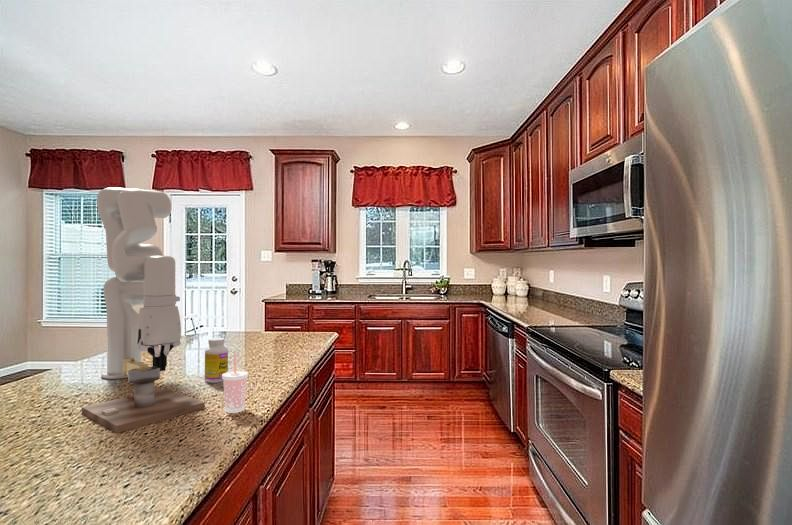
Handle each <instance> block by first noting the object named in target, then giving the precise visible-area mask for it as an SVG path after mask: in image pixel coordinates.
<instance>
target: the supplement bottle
mask: <svg viewBox="0 0 792 525" xmlns="http://www.w3.org/2000/svg"><path fill="white" fill-rule="evenodd" d="M207 342H208V346H207V348H205V350H204V381H205V383H210V384H217V383H224V382H223V379H222V374H223V373H226V372H229V361H228V360H229V359H228V358H229V349H228V347H227V346H226V345H225V342H226V338H224V337H212V338H209V339H208V341H207Z"/></svg>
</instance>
